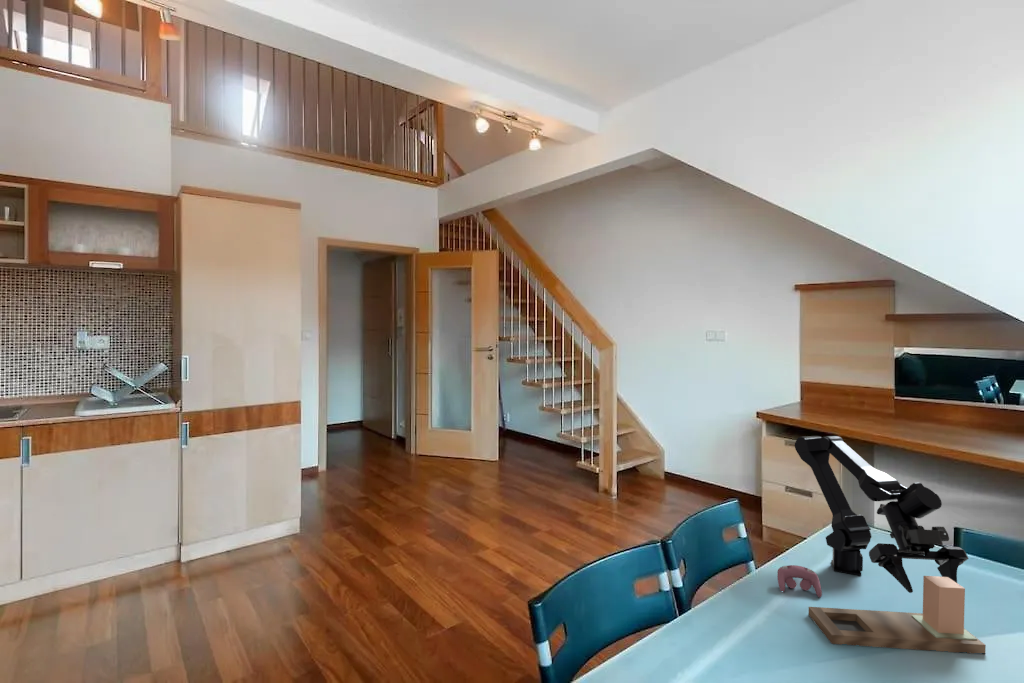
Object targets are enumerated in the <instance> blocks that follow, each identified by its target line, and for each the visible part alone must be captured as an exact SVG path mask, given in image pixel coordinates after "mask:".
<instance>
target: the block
mask: <svg viewBox="0 0 1024 683" xmlns="http://www.w3.org/2000/svg"><path fill="white" fill-rule="evenodd" d="M922 581H923V582H922V585H923V587H922V588H923V589H922V590H923V591H922V592H923V593H922V613H923V620H924V621H925V622H927V623H928V624H929V625H930V626H931V627H932V628H934V629H935V630H936V631H937V632H938V633H954V634H964V628H965V601H966V599H965V598H966V588H965V587H964V586H962V585H961V584H959V583H958V582H957V583H956V582H955V581H953V580H952V579H950V578H949V577H942V576H938V575H935V576H934V575H923V580H922Z"/></svg>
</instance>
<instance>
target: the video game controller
mask: <svg viewBox="0 0 1024 683" xmlns="http://www.w3.org/2000/svg"><path fill="white" fill-rule="evenodd" d="M776 576H777V583H778V584H777V585H778V589H779V591H780V592H781V591H783V592H782V593H785V590H786V586H787V587H788V588H789V587H790V589H796V588H797V586H798V585H797V584H798V583H797V582H796V580H795V579H794V578H797V579H801V580H800V583H799V587H800V589H801V590H803V591H805V592H806V591H809V590H810V588H811V587H813V589H814V592H815V594H816V596H817V597H818V598H821V597H822V596H823V594H822V593H823V592H822V587H821V586H822V585H821V582H820V579H819V576H818V574H817V573H816V572H815V571H814V570H813V569H810V568H808V567H805V566H801V565H796V564H795V565H783V566H780V567H779V568H778V569H777V575H776Z"/></svg>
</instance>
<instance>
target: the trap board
mask: <svg viewBox="0 0 1024 683" xmlns="http://www.w3.org/2000/svg"><path fill="white" fill-rule="evenodd" d="M808 616H809V617H810V619H811V620H812V621H813V622H814V623H815V625H816V626H817V628H818V629H819V630H820V631H821V632H822V634H824V636H825V637H826V639H827V640H828V641H829V642H830V644H832V645H842V644H847V645H846V646H856V645H859V646H861V647H871V646H872V647H873V648H888V649H889V648H890V649H900V650H901V649H902V650H903V649H905V650H918V651H930V650H936V651H935V652H944V651H948V652H947V653H959V652H967V653H966V654H974V653H985V654H986V644H985V643H983V642H982V640H980V639H978V638H977V636H975V635H974V634H972V632H970V631H969V630H967V629H966V628H965V627H964V634H954V633H938V632H937V631H936V630H935V629H934V628H932V627H931V626H930V625H929V624H928V623H927V622H925V621H924V620H923V612H922V613H921V612H906V611H905V612H903V611H901V612H900V611H885V610H870V609H857V608H856V609H854V608H853V609H852V608H839V607H837V608H836V607H821V606H808ZM859 646H858V647H859Z"/></svg>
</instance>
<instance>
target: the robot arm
mask: <svg viewBox="0 0 1024 683" xmlns="http://www.w3.org/2000/svg"><path fill="white" fill-rule="evenodd" d="M844 441H845V440H844V439H843V438H842V437H841V436H838V435H826V436H823V437H822V436H820V435H811V436H808V435H807V436H799V437H797V439H796V440H795V443H794V450H795V451H796V453H797V455H798V456H799V458H800V459H801V460H802V461H803V462H804V463H805V464H807V465H808V466H809V468H810V469H811V470H812V473H813V475H814V477H815V479H816V482H817V483H818V485H819V489H820V490H821V493H822V495H823V497H824V498H825V502H826V504H827V505H828V507H829V509H830V512H831V514H832V518H831V519H832V520H831V529H832V532H831V533H829V534H828V535H827V536H825V541H826V545H827V546H828V547H830V548H832V559H831V566H832V569H833V571H835V572H839V573H845V574H849V575H850V574H851V575H854V576H862V572H863V571H864V570H863V568H864V567H863V566H864V564H863V563H864V560H863V559H864V556H863V554H862V552H861V550H866V549H867V548H868V545H870V542H871V539H872V533H871V530H872V528H870V526H869V524H868V522H867V519H866V517H865V516H864V515H863V514H857V513H855V511H853V510H852V508H851V507H850V504H849V502H848V500H847V497H846V495H845V494H844V492H843V489H842V488H841V485H840V484H839V481H838V479H837V476H836V475H835V473H834V471H833V468H832V466H831V464H830V463H829V462H830V455H831V456H832V457H833V458H835V459H836V460H837V461H838V463H840V464H841V465H842V466H843V467H844V468H845V469H846V470H847V471H848V472H849V473H850V474H852V476H854V477H855V479H856V480H857V481H858V486H859V488H860V490H861V491H862V492H863V493H864V494H865V496H866V497H867V498H868V499H870V500H871V501H872V502H887V503H880V504H879V507H878V509H877V511H876V514H877V515H880V516H884V517H885V519H886V521H887V523H888V525H889V527H890V528H889V529H890V530H891V532H890V533H889V537H890V538H891V539H894V540H895V542H896V545H897V546H896V545H895V544H894V543H880V542H879V543H877V544H876V545H874V546H873V547H872V548H870V550H869V551H868V556H869V559H870V561H871V563H873V564H877V565H878V566H879V567H882V568H884V569H885V570H886V571H887V572H888V573H889V574H891V576H892V577H893V578H895V580H896V581H897V582H899V584H900V585H901V586H902V587H903V588H904V589H905V590H906V591H907V592H908V593H910V594H913V592H914V590H913V586H912V583H911V581H910V580H909V577H908V574H907V573H906V570H905V568H904V566H903V559H910V560H926V561H927V560H928V561H930V560H931V561H934V562H935V564H937V565H938V567H937V570H938V573H939V574H940V577H949V578H950V579H952V580H953V581H955V582H956V583H958V568H959V566H961V565H963V564H964V562H966V561H968V560H969V557H968V554H967V552H966V551H965V549H962V548H961V547H959V546H943V545H944V544H943V542H949V540H950V536H949V534H948V531H947V530H946V528H945V526H940V525H939V526H932V527H931V529H925V527H923V525H919V524H918V522H917V520H916V519H923V518H924V517H926V516H928V515H930V514H932V513H933V512H935V511H938V510H939V509H940V508H942V506H943V505H942V503H943V502H942V500H941V498H940V496H939V495H938V494H937V493H935V492H934V491H933V490H932V489H930V488H928V487H926V486H924V484H923V483H922V482H913V483H912V484H910V485H909V487H907V486H905V485H903V484H901V483H900V482H899V481H898V480H897V479H896V478H894V477H892V476H891V475H890V474H888V473H886V472H884V471H882V470H879V469H877V468H875V467H873V466H872V465H871V464H870V463H868V461H866V460H865V459H864V458H863V457H862V456H860V455H859V454H858V452H856V451H855V450H853V449H852V448H851V447H850V446H849V445H848V444H847V443H846V442H844ZM888 501H889V502H888ZM935 545H937V546H942V547H940V548H939V549H938V550H937V551H936V550H934V551H933V550H932V549H934V548H935V547H936V546H935ZM930 549H931V550H930Z"/></svg>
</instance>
